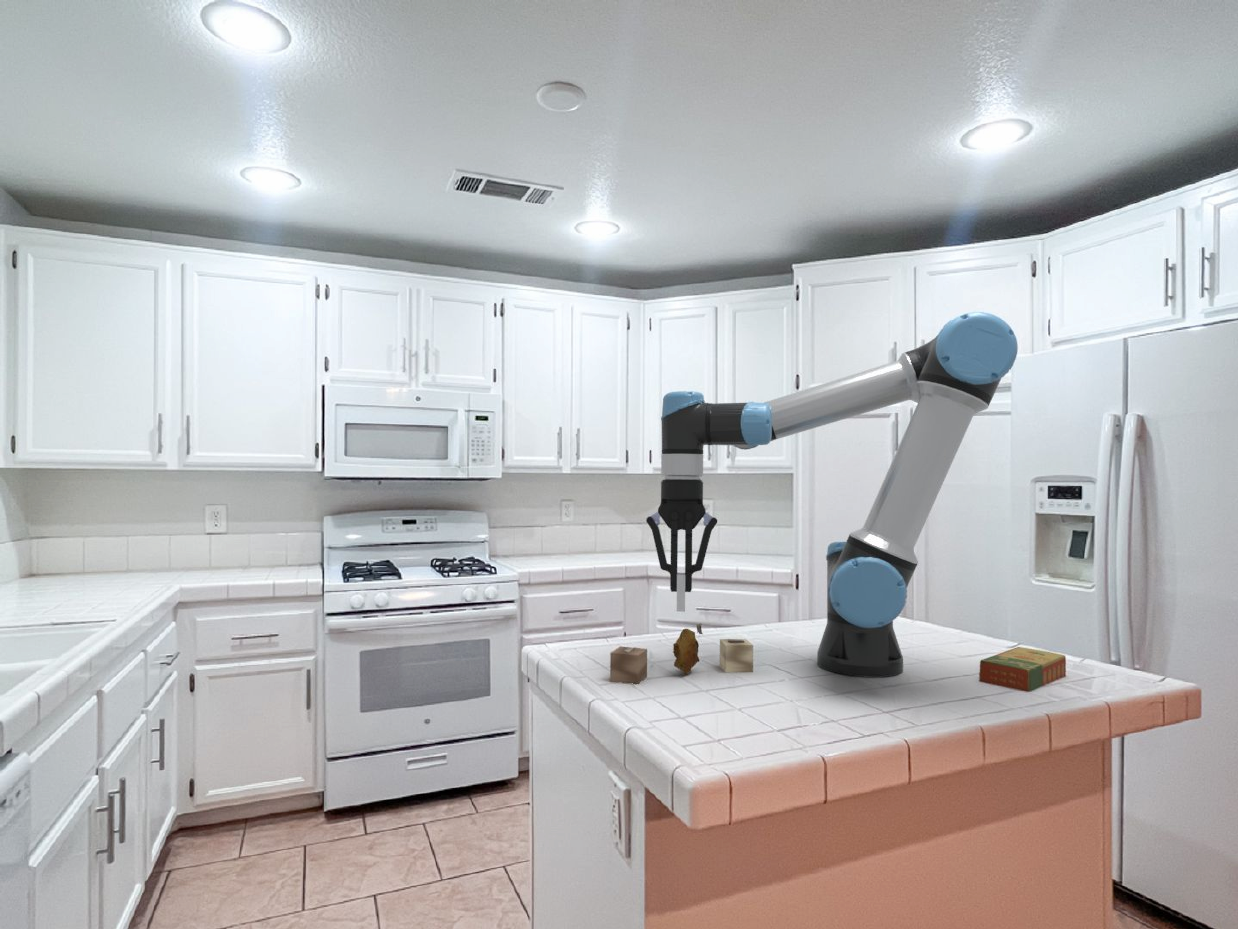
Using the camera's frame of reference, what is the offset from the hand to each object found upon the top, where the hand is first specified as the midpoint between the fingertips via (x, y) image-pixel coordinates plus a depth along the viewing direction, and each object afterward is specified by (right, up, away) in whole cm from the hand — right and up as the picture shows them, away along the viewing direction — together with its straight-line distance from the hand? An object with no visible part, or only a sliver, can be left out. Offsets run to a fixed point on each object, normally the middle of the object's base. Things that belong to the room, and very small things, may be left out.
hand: (680, 610), depth 131 cm
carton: (+60, -12, -2) cm, 61 cm away
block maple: (+10, -11, +3) cm, 16 cm away
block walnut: (-9, -11, -4) cm, 15 cm away
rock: (+1, -12, 0) cm, 12 cm away
